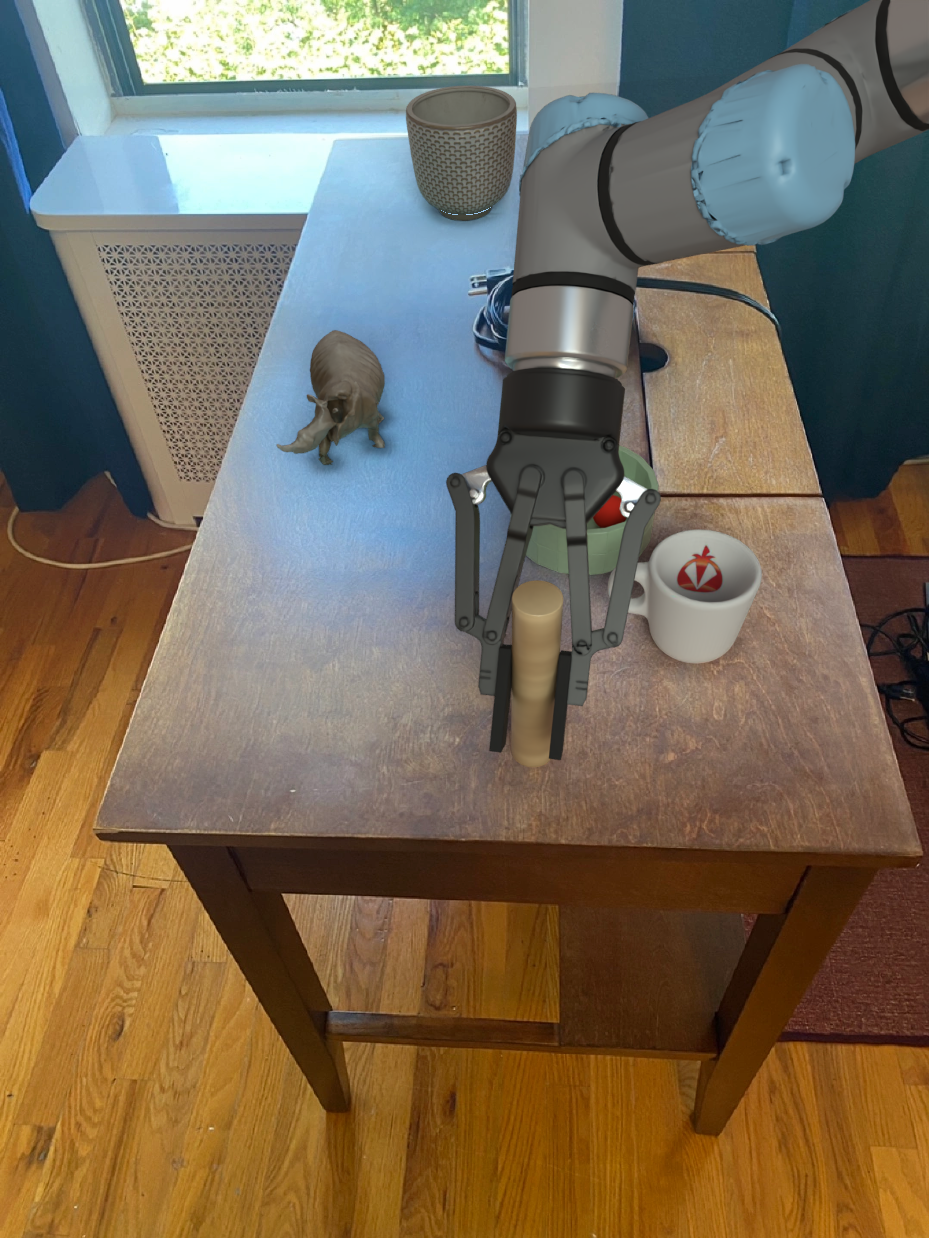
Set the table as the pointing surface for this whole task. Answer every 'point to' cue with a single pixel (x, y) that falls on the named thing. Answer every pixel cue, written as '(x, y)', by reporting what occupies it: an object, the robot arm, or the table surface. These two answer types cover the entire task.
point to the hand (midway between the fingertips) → (526, 750)
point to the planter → (462, 148)
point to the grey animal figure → (341, 395)
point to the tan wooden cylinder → (534, 669)
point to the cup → (696, 593)
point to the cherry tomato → (610, 513)
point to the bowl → (593, 529)
